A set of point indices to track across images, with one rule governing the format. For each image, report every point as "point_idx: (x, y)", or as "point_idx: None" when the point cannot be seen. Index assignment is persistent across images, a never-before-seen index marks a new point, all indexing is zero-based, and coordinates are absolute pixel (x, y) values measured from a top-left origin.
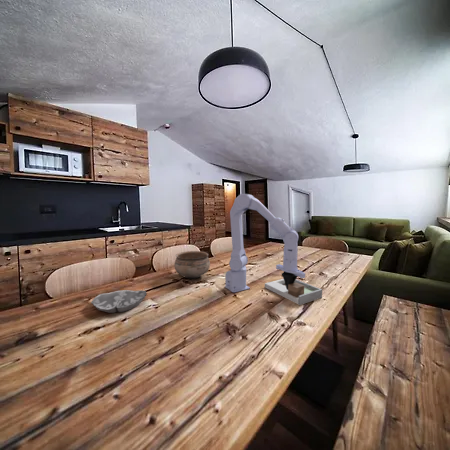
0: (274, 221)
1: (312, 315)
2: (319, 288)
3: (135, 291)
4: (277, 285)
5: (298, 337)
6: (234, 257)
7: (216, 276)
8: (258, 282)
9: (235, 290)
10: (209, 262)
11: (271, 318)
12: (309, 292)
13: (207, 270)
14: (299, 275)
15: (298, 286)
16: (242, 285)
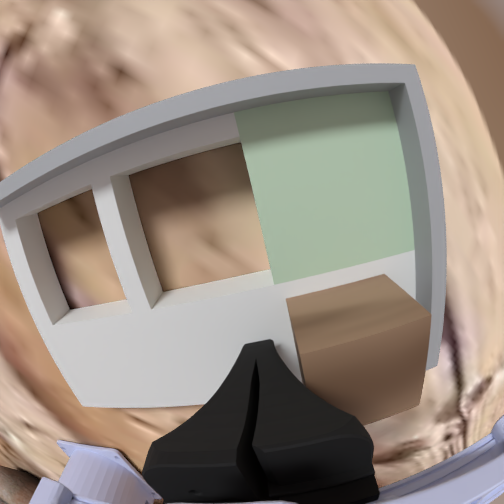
0: None
1: (488, 324)
2: (386, 64)
3: None
4: (121, 363)
5: (494, 412)
6: None
7: (14, 447)
8: (29, 369)
9: (149, 492)
10: (7, 498)
11: (404, 458)
12: (431, 247)
13: (30, 492)
14: (469, 469)
15: (407, 381)
16: (131, 490)
